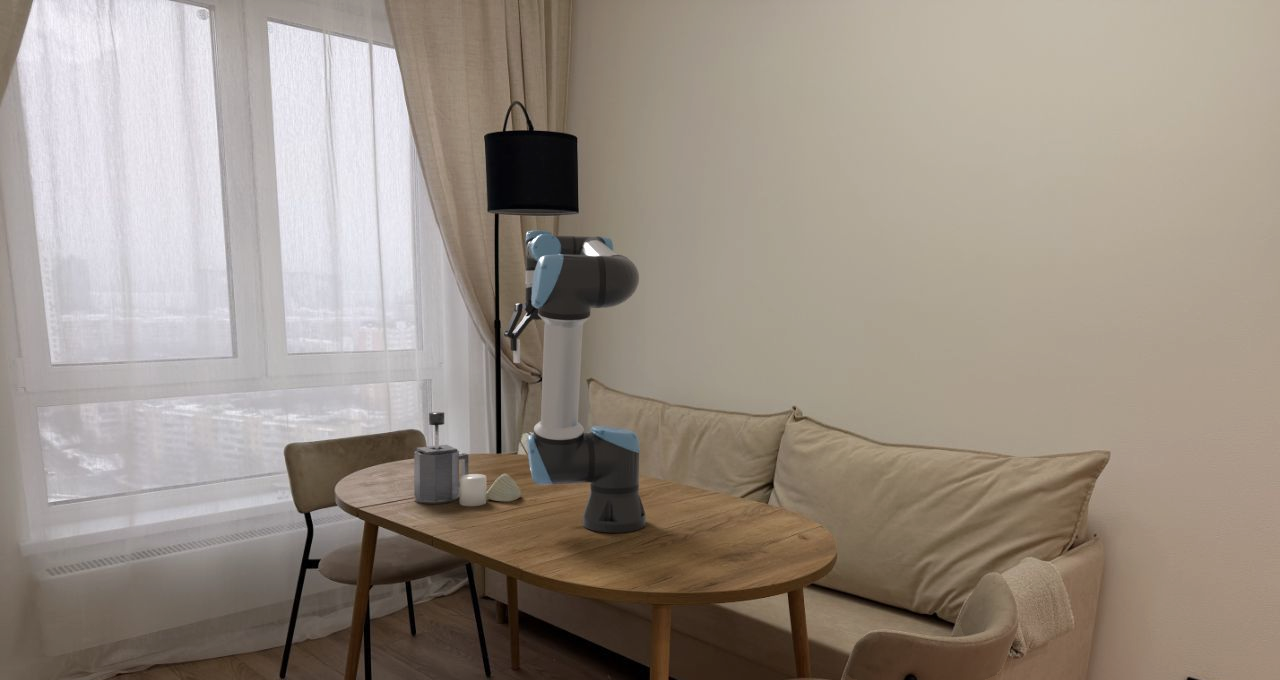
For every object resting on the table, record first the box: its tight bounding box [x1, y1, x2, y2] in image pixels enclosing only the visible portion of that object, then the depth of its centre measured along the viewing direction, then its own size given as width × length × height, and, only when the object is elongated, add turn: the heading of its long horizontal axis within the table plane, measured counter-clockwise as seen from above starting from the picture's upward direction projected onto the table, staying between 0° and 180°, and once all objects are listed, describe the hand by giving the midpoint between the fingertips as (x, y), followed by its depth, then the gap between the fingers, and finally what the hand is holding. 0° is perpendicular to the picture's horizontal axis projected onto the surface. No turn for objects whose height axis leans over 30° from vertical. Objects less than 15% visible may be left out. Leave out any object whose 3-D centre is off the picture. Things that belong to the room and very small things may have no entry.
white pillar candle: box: [458, 473, 487, 507], centre depth 204 cm, size 7×7×7 cm
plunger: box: [428, 411, 445, 455], centre depth 207 cm, size 8×8×19 cm
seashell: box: [486, 473, 522, 502], centre depth 209 cm, size 8×8×8 cm
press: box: [413, 444, 469, 505], centre depth 208 cm, size 11×14×14 cm
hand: (538, 362), depth 216 cm, fingers open, 13 cm apart
